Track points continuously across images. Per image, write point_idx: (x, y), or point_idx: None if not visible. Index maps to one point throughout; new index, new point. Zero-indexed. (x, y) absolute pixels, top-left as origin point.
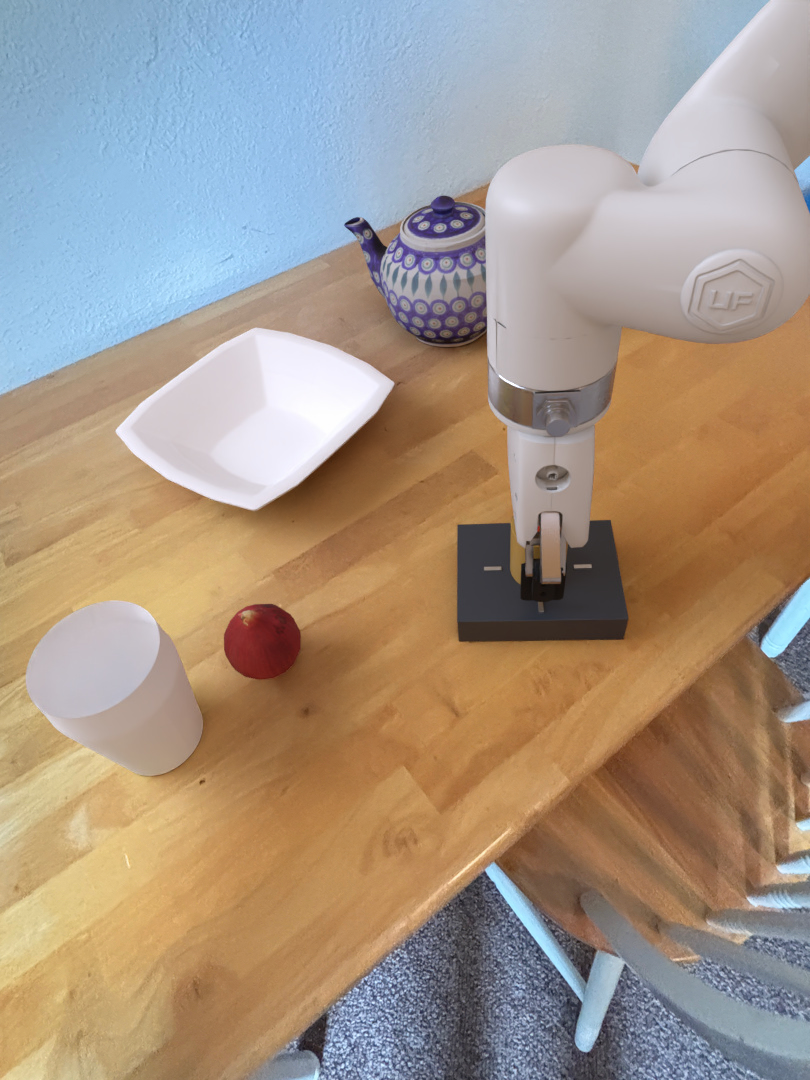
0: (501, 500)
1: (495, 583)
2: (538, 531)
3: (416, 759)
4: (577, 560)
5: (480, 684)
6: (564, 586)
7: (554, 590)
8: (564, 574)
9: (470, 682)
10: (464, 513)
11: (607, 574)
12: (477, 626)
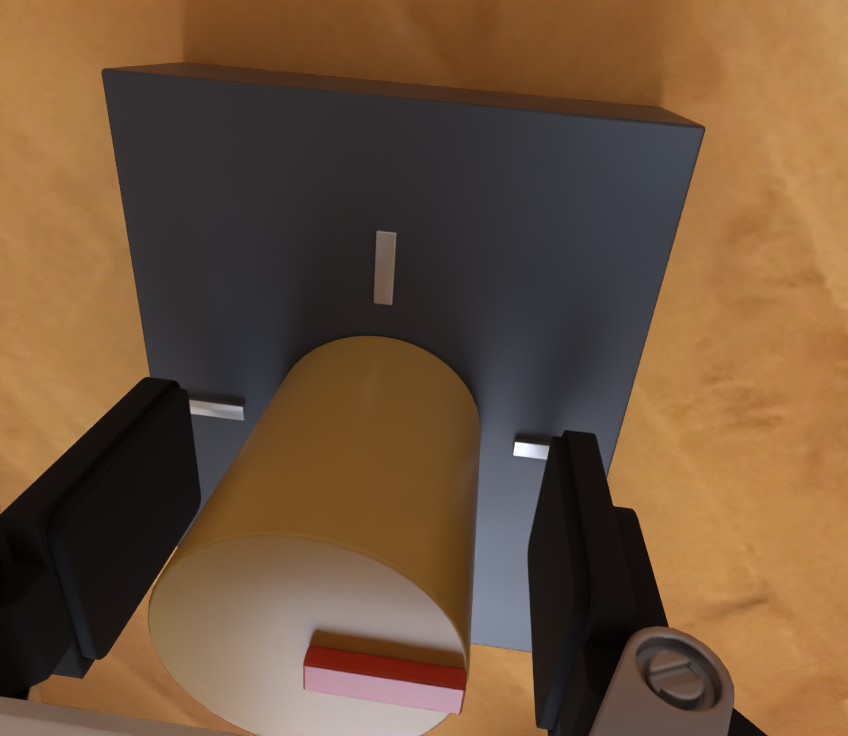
0: (35, 393)
1: None
2: (372, 698)
3: (841, 680)
4: (347, 277)
5: (692, 545)
6: (606, 485)
7: (648, 557)
8: (727, 678)
9: (678, 563)
10: None
11: (435, 166)
12: None
